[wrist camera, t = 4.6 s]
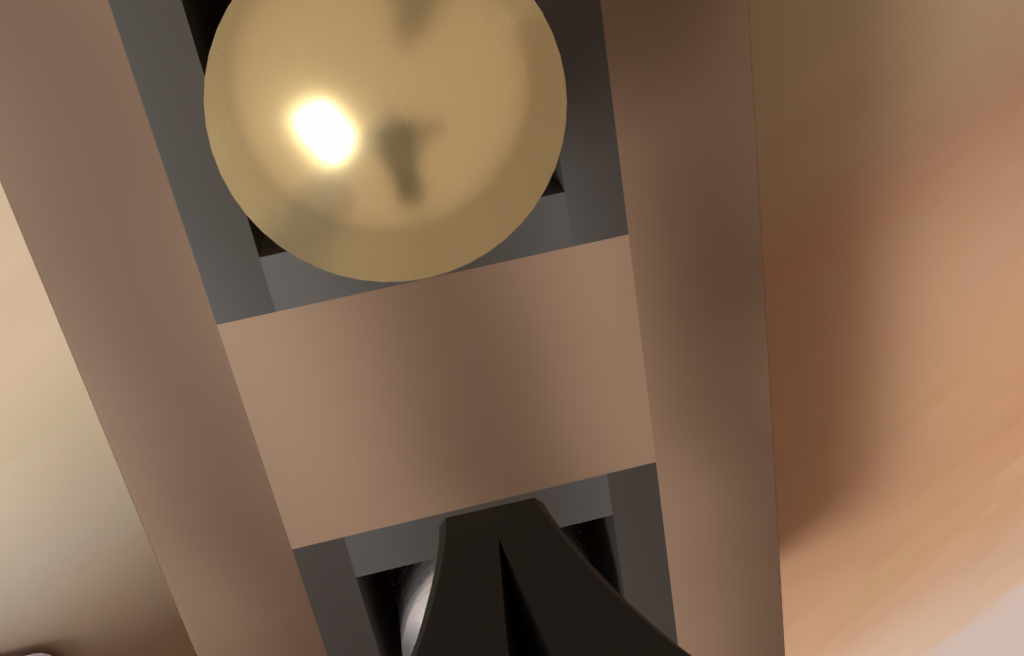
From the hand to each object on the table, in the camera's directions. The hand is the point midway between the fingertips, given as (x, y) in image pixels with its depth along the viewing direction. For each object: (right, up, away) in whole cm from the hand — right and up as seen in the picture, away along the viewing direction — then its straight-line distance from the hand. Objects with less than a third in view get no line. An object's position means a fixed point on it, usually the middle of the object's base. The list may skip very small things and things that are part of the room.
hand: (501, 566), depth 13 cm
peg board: (-2, +4, +9) cm, 10 cm away
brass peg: (-2, +8, +3) cm, 9 cm away
